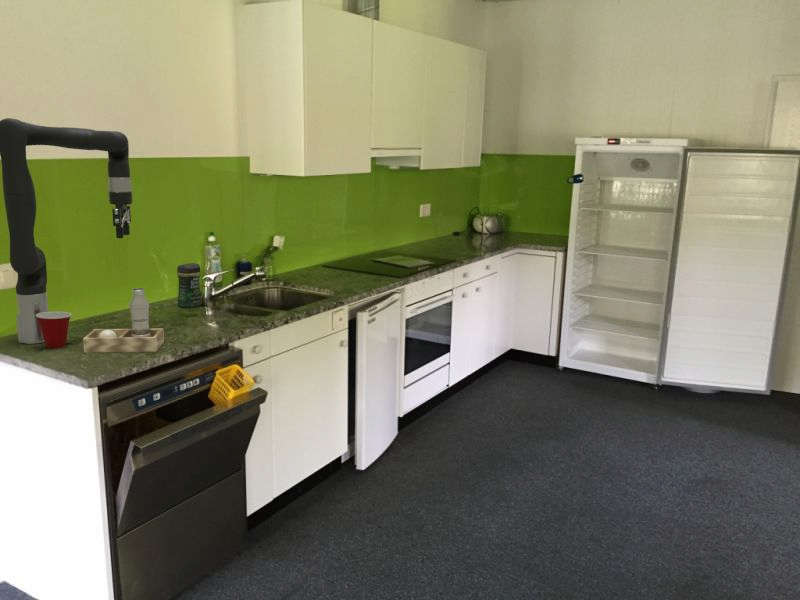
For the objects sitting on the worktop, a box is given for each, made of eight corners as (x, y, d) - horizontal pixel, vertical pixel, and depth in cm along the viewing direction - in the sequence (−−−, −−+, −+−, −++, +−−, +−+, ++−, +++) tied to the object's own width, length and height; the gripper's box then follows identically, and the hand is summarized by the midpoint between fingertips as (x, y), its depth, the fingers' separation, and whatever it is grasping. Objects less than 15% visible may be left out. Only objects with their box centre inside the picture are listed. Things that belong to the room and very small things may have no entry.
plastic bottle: (130, 349, 225) (127, 291, 221) (132, 344, 232) (128, 287, 227) (151, 348, 227) (147, 290, 223) (152, 343, 234) (149, 286, 229)
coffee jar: (187, 309, 286) (185, 266, 282) (175, 306, 290) (173, 264, 286) (205, 305, 294) (203, 263, 290) (193, 302, 298) (191, 261, 294)
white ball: (96, 349, 225) (95, 332, 224) (101, 344, 231) (100, 327, 229) (115, 349, 226) (113, 332, 224) (119, 344, 231) (118, 327, 230)
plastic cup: (81, 346, 230) (78, 312, 228) (50, 354, 221) (46, 318, 219) (63, 341, 236) (60, 308, 234) (32, 348, 227) (29, 313, 225)
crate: (84, 354, 222) (82, 338, 220) (95, 344, 233) (94, 329, 232) (156, 353, 225) (155, 337, 224) (164, 343, 236) (163, 328, 235)
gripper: (114, 188, 241) (117, 234, 245) (102, 191, 227) (106, 239, 231) (136, 189, 242) (139, 234, 246) (126, 191, 228) (129, 239, 232)
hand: (123, 236), depth 238 cm, fingers open, 8 cm apart
